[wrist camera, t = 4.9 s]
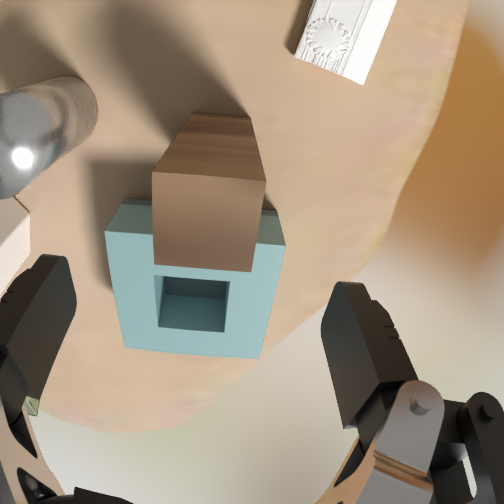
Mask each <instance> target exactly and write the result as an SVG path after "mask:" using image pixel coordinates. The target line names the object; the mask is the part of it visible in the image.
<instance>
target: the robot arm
mask: <svg viewBox="0 0 504 504" xmlns="http://www.w3.org/2000/svg"><path fill="white" fill-rule="evenodd" d="M76 305H77V299H76V293H75V289H74V285H73V281H72V277H71V273H70V268H69V264H68V261H67V259H66V257H64V256H58V255H49V254H42V255H41V256H40V257H39V258H38V259H37V261H36V262H35V263H34V265H33V266H32V268H31V269H27V270H25V271H24V272H23V273H21V274H20V275H19V276H18V277H16V278H15V279H14V281H13V282H12V284H11V285H10V286H9V288H8V289H7V293H5V294H4V295H3V297H2V298H1V302H0V504H133V503H131V502H129V501H126V500H124V499H122V498H119V497H114V496H109V495H105V494H101V493H97V492H93V491H89V490H85V489H81V488H78V487H75V489H74V495H65V494H64V492H63V490H62V488H61V486H60V484H59V482H58V481H57V479H56V478H55V476H54V474H53V473H52V472H51V470H49V468H48V466H47V464H46V462H45V460H44V458H43V456H42V453H41V451H40V448H39V445H38V443H37V440H36V437H35V435H34V432H33V429H32V426H31V423H30V420H29V417H28V414H27V411H26V408H25V406H24V401H25V398H26V396H28V397H31V398H34V399H37V400H40V397H41V394H42V392H43V389H44V386H45V384H46V381H47V378H48V376H49V373H50V371H51V368H52V366H53V363H54V361H55V358H56V356H57V353H58V351H59V349H60V346H61V344H62V342H63V339H64V337H65V335H66V333H67V330H68V328H69V326H70V324H71V321H72V319H73V317H74V315H75V311H76ZM321 338H322V342H323V346H324V350H325V354H326V358H327V362H328V366H329V370H330V374H331V378H332V382H333V386H334V390H335V394H336V398H337V403H338V407H339V411H340V416H341V420H342V425H343V429H348V428H357V429H358V433H359V436H358V437H357V438H356V440H355V442H354V443H353V446H352V447H351V449H350V451H349V453H348V455H347V456H346V458H345V460H344V462H343V464H342V465H341V467H340V469H339V471H338V472H337V474H336V476H335V477H334V479H333V481H332V483H331V484H330V486H329V487H328V489H327V490H326V491H325V493H324V494H323V495H322V496H321V497H320V498H319V500H318V501H317V502H316V503H315V504H504V411H503V409H502V407H501V405H500V403H499V402H498V400H497V399H496V398H494V397H493V396H492V395H490V394H488V393H485V392H478V393H475V394H474V395H473V396H472V397H471V398H470V399H469V400H468V401H467V402H466V403H463V402H456V401H450V400H444V399H443V398H442V397H441V395H440V393H439V392H438V391H437V390H436V389H435V388H434V387H433V386H432V385H430V384H428V383H426V382H424V381H420V380H419V379H418V377H417V375H416V373H415V370H414V368H413V366H412V364H411V361H410V359H409V356H408V355H407V352H406V350H405V348H404V345H403V343H402V341H401V339H399V334H398V332H397V330H396V329H395V328H394V324H393V322H392V319H391V317H390V315H389V313H388V312H387V311H386V310H385V309H384V308H383V307H382V305H380V303H379V302H378V301H376V300H371V298H370V296H369V294H368V292H367V290H366V287H365V286H364V284H363V283H355V282H340V281H339V282H337V283H336V285H335V286H334V289H333V292H332V294H331V297H330V300H329V302H328V305H327V308H326V310H325V313H324V316H323V318H322V323H321ZM466 456H469V460H470V463H471V467H472V470H473V474H474V478H475V481H476V485H477V492H476V495H475V497H474V498H473V497H472V495H471V492H470V488H469V484H468V480H467V476H466V472H465V468H464V465H463V461H462V459H464V458H465V457H466Z"/></svg>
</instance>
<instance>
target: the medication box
mask: <svg viewBox="0 0 504 504" xmlns="http://www.w3.org/2000/svg"><path fill="white" fill-rule="evenodd" d="M39 402H40V400H37V399H34V398H31V397H28V396H26V398H25V401H24V406H25V408H26V411H27V414H28V415H32V416H37V413H38V407H39Z"/></svg>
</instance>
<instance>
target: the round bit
mask: <svg viewBox="0 0 504 504" xmlns="http://www.w3.org/2000/svg"><path fill="white" fill-rule="evenodd" d="M97 116H98V106H97V100H96V97H95V95H94V93H93V91H92V89H91V88H90V87H89V85H88V84H87V83H85V82H84V81H83V80H81V79H79V78H77V77H73V76H63V77H58V78H54V79H50V80H46V81H42V82H38V83H34V84H31V85H27V86H24V87H20V88H17V89H14V90H11V91H7V92H4V93H1V94H0V199H8V198H11V197H13V196H15V195H16V194H18V193H19V192H20V191H21V190H22V189H24V188H25V187H26V186H27V185H28V184H29V183H31V182H32V181H33V180H34V179H36V178H37V177H38V176H39V175H40V174H42V173H43V172H44V171H45V170H47V169H48V168H49V167H51V166H52V165H53V164H54V163H56V162H57V161H58V160H60V159H61V158H62V157H64V156H65V155H66V154H68V153H69V152H70V151H72V150H73V149H75V148H76V147H77V146H79V145H80V144H82V143H83V142H84V141H85V140H86V139H87V138H88V137H89V136H90V135H91V133H92V131H93V130H94V127H95V125H96V122H97Z"/></svg>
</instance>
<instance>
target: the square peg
mask: <svg viewBox="0 0 504 504" xmlns="http://www.w3.org/2000/svg"><path fill="white" fill-rule="evenodd" d="M265 186H266V178H265V174H264V170H263V166H262V162H261V158H260V154H259V150H258V145H257V141H256V137H255V134H254V130H253V126H252V122H251V118H248V117H239V116H229V115H218V114H205V113H192V114H191V116H190V117H189V118H188V120H187V121H186V123H185V124H184V125H183V127H182V128H181V130H180V131H179V133H178V134H177V135H176V137H175V138H174V140H173V141H172V143H171V144H170V146H169V147H168V148H167V150H166V151H165V153H164V154H163V156H162V157H161V159H160V160H159V162H158V164H157V165H156V167H155V168H154V170H153V171H152V224H153V251H154V265H165V266H176V267H188V268H200V269H213V270H225V271H238V272H251V271H252V265H253V259H254V253H255V247H256V241H257V235H258V229H259V222H260V216H261V210H262V204H263V198H264V192H265Z"/></svg>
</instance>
